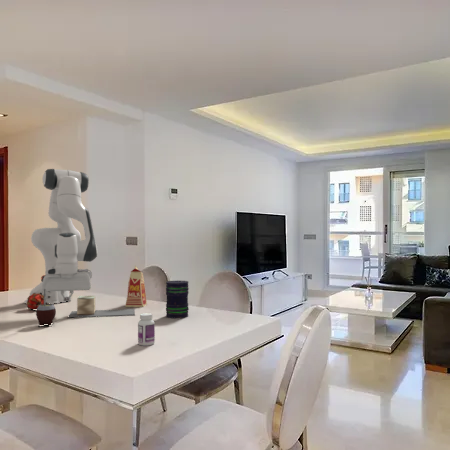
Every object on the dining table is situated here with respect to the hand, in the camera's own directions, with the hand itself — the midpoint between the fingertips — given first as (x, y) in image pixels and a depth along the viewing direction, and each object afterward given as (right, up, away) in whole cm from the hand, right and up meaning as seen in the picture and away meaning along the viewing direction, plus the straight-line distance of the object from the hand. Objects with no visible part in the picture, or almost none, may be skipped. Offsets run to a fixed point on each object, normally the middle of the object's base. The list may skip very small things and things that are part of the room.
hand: (67, 301), depth 186 cm
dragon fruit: (-19, -7, +13) cm, 24 cm away
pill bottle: (+44, -5, -48) cm, 66 cm away
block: (+8, -6, +2) cm, 10 cm away
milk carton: (+25, -7, +25) cm, 36 cm away
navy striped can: (+49, -6, -2) cm, 49 cm away
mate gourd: (0, -6, -21) cm, 22 cm away
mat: (+15, -6, +4) cm, 16 cm away
